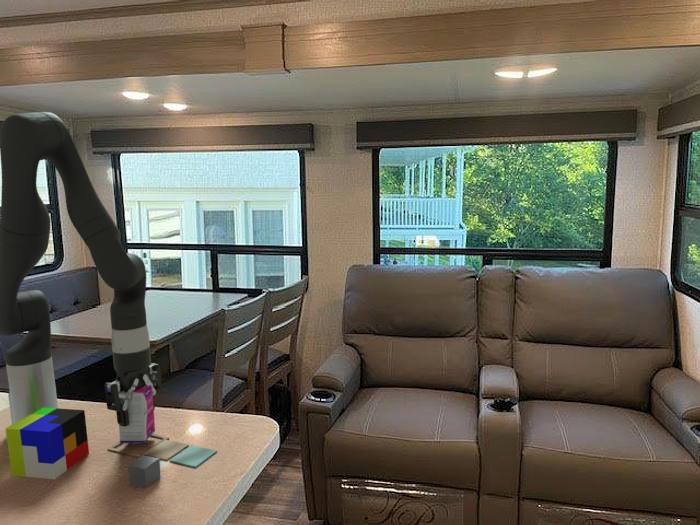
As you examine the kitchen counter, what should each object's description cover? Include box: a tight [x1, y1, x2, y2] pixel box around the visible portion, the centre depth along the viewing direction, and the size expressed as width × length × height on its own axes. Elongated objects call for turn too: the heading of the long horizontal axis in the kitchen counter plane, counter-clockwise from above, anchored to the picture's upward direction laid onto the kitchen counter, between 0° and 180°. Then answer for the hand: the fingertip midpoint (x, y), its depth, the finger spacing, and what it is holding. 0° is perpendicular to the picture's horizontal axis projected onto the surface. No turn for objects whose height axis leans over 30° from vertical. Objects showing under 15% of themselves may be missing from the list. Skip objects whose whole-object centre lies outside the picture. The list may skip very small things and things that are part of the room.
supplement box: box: [118, 385, 156, 444], centre depth 117 cm, size 6×6×12 cm
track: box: [107, 433, 218, 469], centre depth 115 cm, size 23×9×1 cm, turn 66°
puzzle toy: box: [5, 407, 90, 480], centre depth 109 cm, size 10×10×10 cm
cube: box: [127, 455, 161, 489], centre depth 103 cm, size 4×4×4 cm
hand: (137, 417), depth 117 cm, fingers closed on supplement box, 7 cm apart
